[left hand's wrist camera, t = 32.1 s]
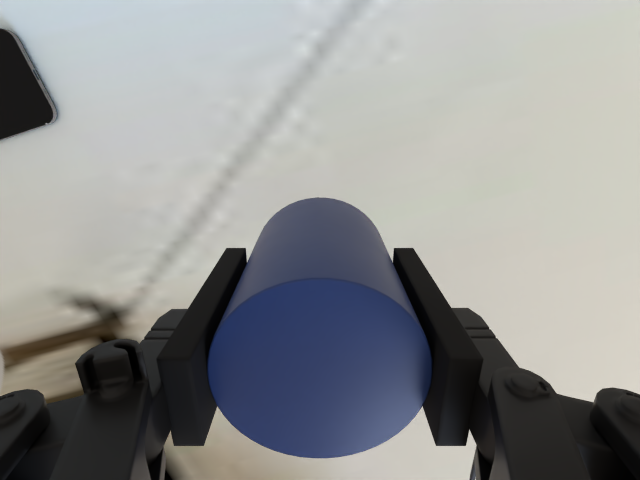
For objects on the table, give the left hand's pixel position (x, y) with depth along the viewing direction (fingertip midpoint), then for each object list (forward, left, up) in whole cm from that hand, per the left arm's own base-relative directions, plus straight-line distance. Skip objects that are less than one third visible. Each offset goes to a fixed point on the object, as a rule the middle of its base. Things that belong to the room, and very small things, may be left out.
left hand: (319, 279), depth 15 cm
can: (0, 0, -2) cm, 2 cm away
